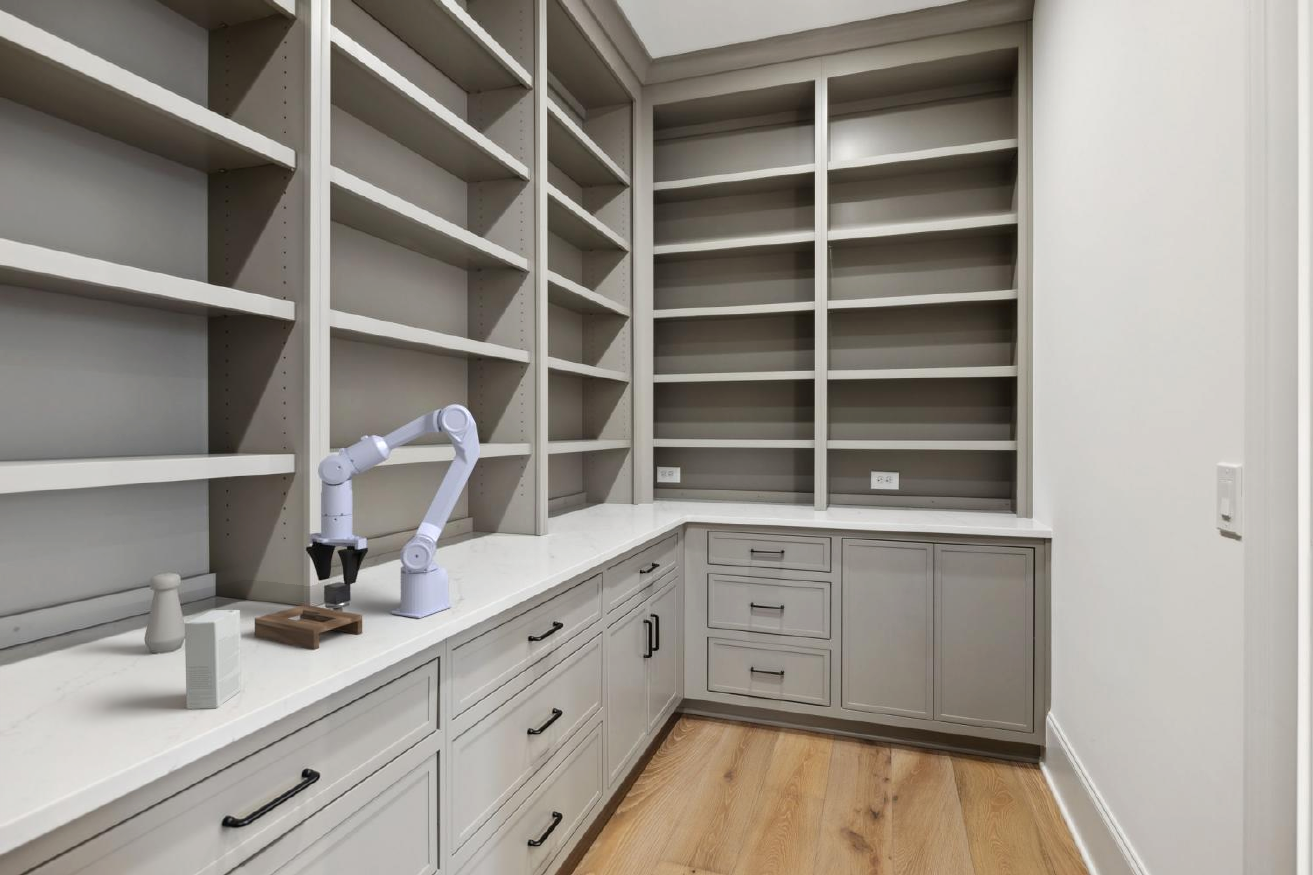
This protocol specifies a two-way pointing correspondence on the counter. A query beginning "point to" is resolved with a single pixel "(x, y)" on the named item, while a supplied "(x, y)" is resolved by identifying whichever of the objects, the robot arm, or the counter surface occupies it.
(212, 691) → the skincare box
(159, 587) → the salt shaker
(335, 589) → the dark grey key plug
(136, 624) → the counter surface
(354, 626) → the keyhole plate
